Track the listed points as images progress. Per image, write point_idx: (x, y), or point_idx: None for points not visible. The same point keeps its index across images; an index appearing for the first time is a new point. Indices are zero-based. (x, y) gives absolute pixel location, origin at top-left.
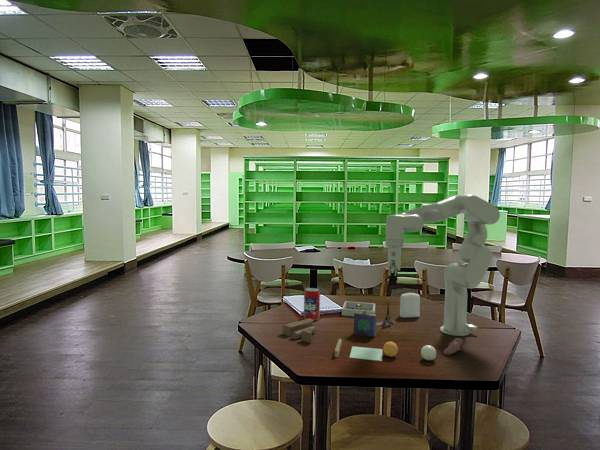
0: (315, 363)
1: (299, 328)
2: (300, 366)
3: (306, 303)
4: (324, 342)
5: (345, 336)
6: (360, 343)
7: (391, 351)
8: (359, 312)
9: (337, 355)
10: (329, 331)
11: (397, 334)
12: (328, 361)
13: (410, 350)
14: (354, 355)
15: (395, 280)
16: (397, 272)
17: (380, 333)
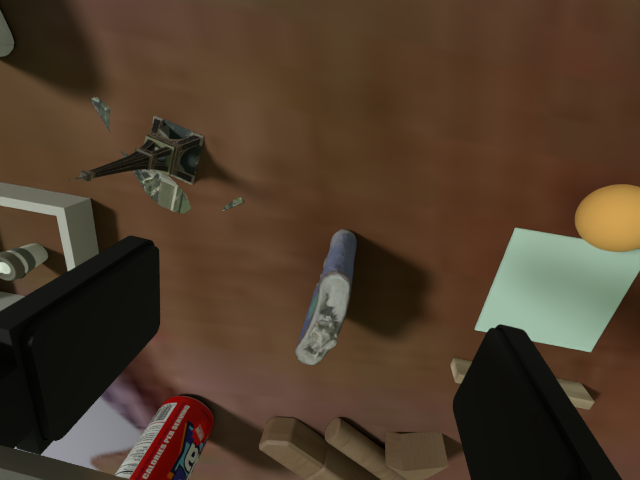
0: (620, 439)
1: (344, 467)
2: (635, 472)
3: None
4: (427, 400)
5: (358, 335)
6: (436, 297)
7: None
8: (306, 347)
9: (584, 389)
10: (310, 376)
11: (303, 123)
12: (610, 408)
13: (534, 98)
14: (574, 335)
15: (553, 400)
16: (22, 324)
17: (302, 202)
